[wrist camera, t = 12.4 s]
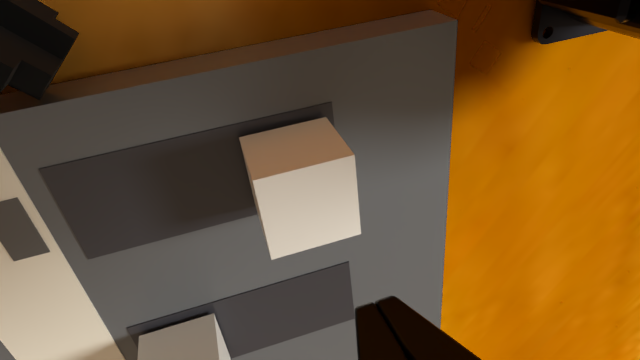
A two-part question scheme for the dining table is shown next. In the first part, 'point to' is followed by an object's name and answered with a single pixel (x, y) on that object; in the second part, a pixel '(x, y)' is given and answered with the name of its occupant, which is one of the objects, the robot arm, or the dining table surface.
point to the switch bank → (223, 196)
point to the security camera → (31, 45)
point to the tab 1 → (185, 342)
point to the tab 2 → (302, 186)
